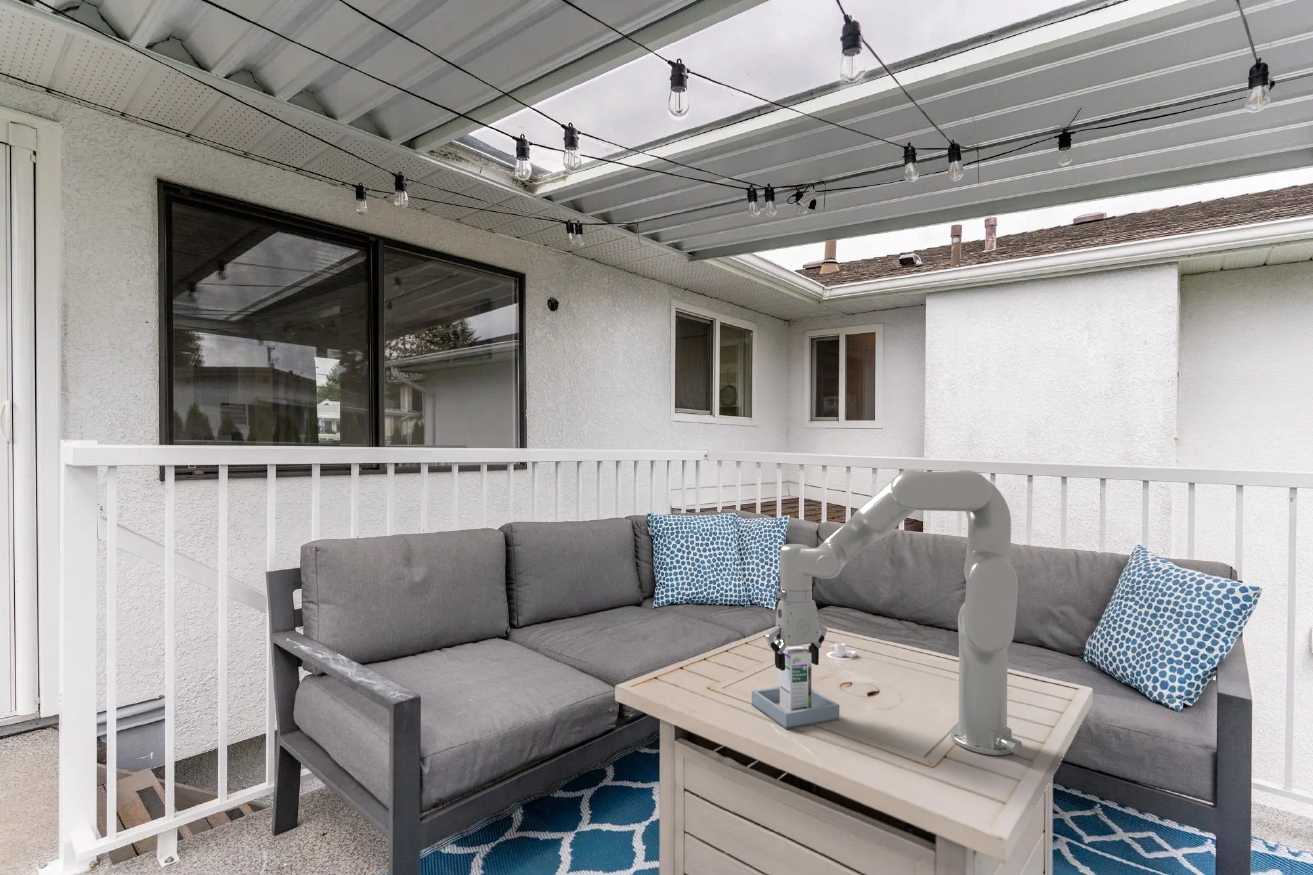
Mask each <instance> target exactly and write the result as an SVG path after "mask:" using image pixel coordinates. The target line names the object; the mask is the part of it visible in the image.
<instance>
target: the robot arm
mask: <svg viewBox="0 0 1313 875" xmlns="http://www.w3.org/2000/svg"><path fill="white" fill-rule="evenodd" d="M916 511H930V512H931V511H932V512H933V511H934V512H935V511H937V512H965V514H966V518H967V541H966V542H967V543H966V554H965V559H964V560H965V562H964V566H963V574H964V578H965V582H966V583H965V584H966V585H965V598H964V602H963V604H962V605H961V606H960V609H959V611H958V616H957V621H958V622H957V628H958V630H957V631H958V726H957V725H956V726H955V727H953V728H952V729H950V738H951V739H952V741H953V742H955V744H957V745H958V746H960V747H962V748H964V749H966V750H969V751H971V752H975V753H978V754H981V755H982V754H983V755H989V756H1004V755H1005V756H1006V755H1010V754H1012V753H1013V754H1018V753H1019V751H1020V748H1021V747H1022V744H1023V742H1022V741H1021V740H1019V739H1017V738H1015V737H1013V736H1012V735H1013V734H1012V732H1013V731H1012V728H1010V727H1009V726H1008V648H1009V647H1010V645H1011V644H1012V642H1013V639H1014V636H1015V630H1016V629H1015V628H1016V621H1017V620H1016V619H1017V607H1018V594H1019V593H1018V590H1019V587H1018V586H1019V585H1018V575H1017V573H1016V570H1015V568H1014V566H1013V565H1012V564H1011V545H1012V518H1011V517H1012V516H1011V512H1010V511H1011V510H1010V509H1009V506H1008V503H1007V501H1006V499H1005V498H1004V496H1003V494H1002V493H1001V491H1000V490H999V489H998V488H997V487H996V486H995V485H994V484H993V483H992V482H990V480H989V479H987V478H986V477H985V476H984V475H982V474H981V473H978V472H976V471H974V470H968V469H964V470H957V471H921V470H920V471H919V470H913V469H907V470H903V471H902V472H900V473H898V474H896V476H895V477H893V478H892V479H891V480H890V481H889V482H888V483H886V485H884V486H883V487H882V488H881V489H880V490H879V491H878V492H876V494H874V495H873V496H872V497H871V498H870V499H868V500H867V501H865V503H864V504H863V505H862V506H860V507H859V508H858V509H857V510H856V511H855V512H854V513H853V514H852V515H851V517H850V518H849V519H848V520H847V521H846V522H845V523H843V525H842V526H841V527H840V528H838V529H837V530H836V531H835V532H833V533H832V535H830V536H829V537H828V538H826V540H824V541H823V542H822V543H821V544H820V545H819V546H818V547H810V546H808V545H807V544H801V543H800V544H799V543H787V544H783V545H782V546H781V547H780V549H779V573H780V574H779V575H780V576H779V580H780V581H779V582H780V585H779V586H780V587H779V592H776V598H778V599H780V600H779V601H778V603H777V608H776V614H775V616H776V618H775V627H774V628H773V629H771V630H770V631H769V632H767V633H766V634H765V635H764V638H765V640H766V642H767V643H768V646H769V647H770V648H771V650H772V651H773V652H774V665H775V668H776V669H779V671H780V670H782V671H784V670H785V654H784V653H783V651H784V650H785V648H787V646H788V647H797V646H802V645H808V649H807V650H808V651H810V652H811V664H813V665H815V666H819V663H820V661H819V659H820V650H819V649H821V647H822V644H823V642H824V641H825V637H826V634H827V632H828V628H827V627H825V626H823V625H821V624H819V623H820V622H819V614H818V608H817V605H816V601H815V600H813V585H812V584H813V583H812V582H813V581H812V580H813V579H812V577H813V578H814V577H815V578H819V579H823V580H825V579H826V580H828V579H830V580H831V579H834V578H836V577H837V576H839V575H840V573H841V572H842V570H843V568H844V567H845V566H846V565H847V564H848V563H849V562H850V561H851V560H853V559H854V558H855V557H856V556H857V555H858V554H859V553H861V552H862V551H863V550H864V549H866V548H867V547H868V546H870V545H871V544H874V543H875V542H877V541H880V540H882V539H883V538H885V537H886V536H888V534H890V533H891V532H892V531H893V530H895V528H897V527H898V526H899V525H900V524H902V522H903V521H905V520H906V519H908V517H909V516H911V514H913V513H914V512H916ZM774 638H775V640H776V641H775V640H774Z"/></svg>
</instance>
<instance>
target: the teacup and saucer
mask: <svg viewBox="0 0 1313 875" xmlns="http://www.w3.org/2000/svg"><path fill="white" fill-rule="evenodd" d="M832 647H834V650H833V648H832ZM830 650H831V651H829V652H827V653H826V656H827V657H829V658H830V659H833V660H839V661H849V660H852V659H854V658H856V656H857V655H858V653H857V651H855V650H847V651H845V650H846V644H845V643H843V642H835V643H834V644H831V645H830ZM833 654H834V655H835V656H836V657H838V658H836V657H834V656H832V655H833ZM844 656H845V657H847V658H843V657H844Z"/></svg>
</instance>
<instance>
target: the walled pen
mask: <svg viewBox="0 0 1313 875" xmlns="http://www.w3.org/2000/svg"><path fill="white" fill-rule="evenodd" d="M751 706H753V707H754V708H755V709H757V710H758V711H759V712H760V713H761V714H763V715H765V716H766V717H768V718H769V719H770V720H771V721H773V722H774V723H776V724H777V725H779V726H780V727H782V729H784V730H791V729H796V728H801V727H807V726H813V725H818V724H824V723H829V722H834V721H840V704H839V703H837V702H836V701H834V700H831V699H830V698H828V697H826V696H825V695H823V694H821V693H819V691H816V690H814V689H812V688H811V708H807V709H801V710H795V711H789V712H787V711H785V710H784V709H783V708H782V707H781V706H780V686H774V687H768V688H762V689H761V688H760V689H755V690H751Z"/></svg>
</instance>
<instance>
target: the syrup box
mask: <svg viewBox="0 0 1313 875" xmlns="http://www.w3.org/2000/svg"><path fill="white" fill-rule="evenodd" d="M783 653H784V654H785V670H784V671H782V670H780V669H779V687H780V706H781V707H782V708H783V709H784V710H785V711H787V712H789V711H795V710H801V709H807V708H811V689H812V663H811V652H810V651H809V650H808V649H807V648H805V647H803V646H801V645H797V646H789V647H786V648H785V650H784V651H783Z"/></svg>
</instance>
